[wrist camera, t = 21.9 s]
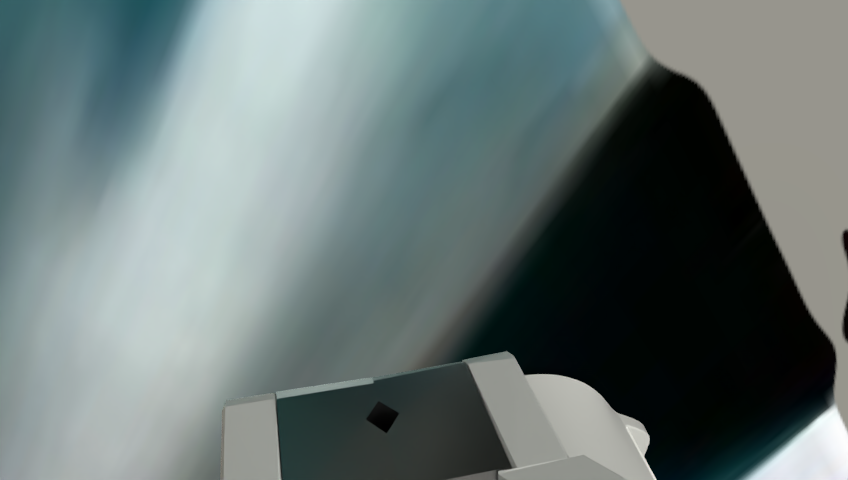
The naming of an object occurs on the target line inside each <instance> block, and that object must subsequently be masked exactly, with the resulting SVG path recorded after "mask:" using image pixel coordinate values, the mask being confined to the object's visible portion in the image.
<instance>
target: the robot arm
mask: <svg viewBox="0 0 848 480" xmlns="http://www.w3.org/2000/svg"><path fill="white" fill-rule="evenodd" d="M649 440H650V439H649V435H648V433H647V431H646V429H645V427H644V426H643V424H642V423H640V422H639V421H637V420H635V419H633V418H630V417H627V416H625V415H622V414H619V413H617V412H616V411H614V410H613V409H612V408H611V407H610V406H609V404H608V403H607V402H606V401H605V399H604V398H603V397H602V396H601V395H600V394H599V393H598V392H597V391H596V390H594V389H593V388H591V387H590V386H588V385H586V384H585V383H583V382H580V381H578V380H575V379H572V378H569V377H565V376H559V375H551V374H533V375H524V374H523V372H522V370H521V368H520V366H519V365H518V363H517V361H516V359H515V357H514V356H513V355H512V354H510V353H508V352H507V351H506V352H501V353H496V354H491V355H486V356H481V357H476V358H471V359H466V360H463V361H462V362H457V363H451V364H446V365H440V366H435V367H429V368H423V369H418V370H412V371H407V372H401V373H396V374H390V375H385V376H379V377H373V378H372V377H371V378H365V379H358V380H352V381H345V382H338V383H332V384H325V385H318V386H312V387H305V388H299V389H292V390H285V391H279V392H277V396H276V394H274V393H270V394H263V395H257V396H251V397H244V398H238V399H232V400H226V402H225V405H224V407H223V410H222V441H221V480H656V478H655V476H654V474H653V472H652V471H651V469H650V467H649V465H648V463H647V462H646V460H645V458H644V455H645V453H646V450H647V447H648V445H649Z"/></svg>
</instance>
